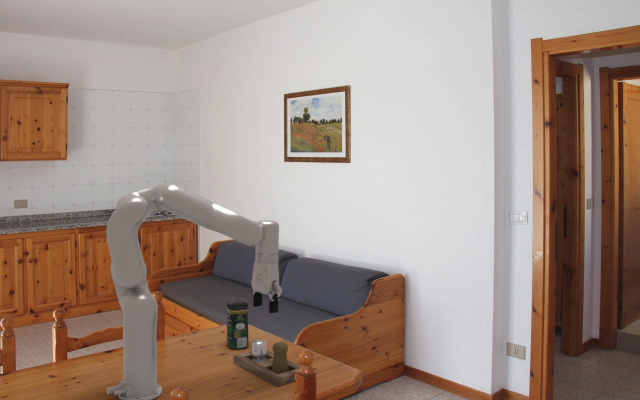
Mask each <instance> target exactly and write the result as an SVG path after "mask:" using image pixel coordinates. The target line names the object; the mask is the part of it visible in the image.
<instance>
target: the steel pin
mask: <svg viewBox="0 0 640 400" xmlns="http://www.w3.org/2000/svg"><path fill="white" fill-rule="evenodd" d="M267 345H268V344H267V340H265V339H262V338H260V339H253V340H252V341H251V351H252V361H254V362H260V361H264V360H266V350H267Z"/></svg>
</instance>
